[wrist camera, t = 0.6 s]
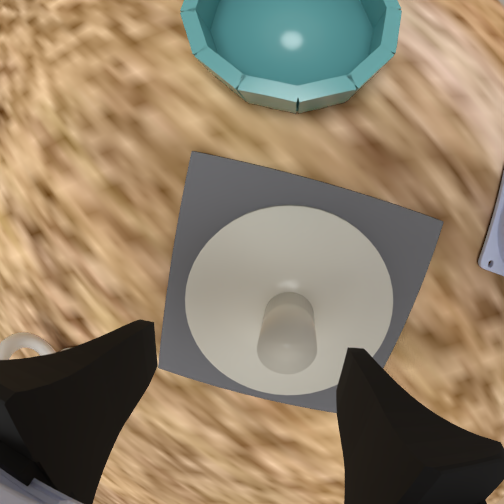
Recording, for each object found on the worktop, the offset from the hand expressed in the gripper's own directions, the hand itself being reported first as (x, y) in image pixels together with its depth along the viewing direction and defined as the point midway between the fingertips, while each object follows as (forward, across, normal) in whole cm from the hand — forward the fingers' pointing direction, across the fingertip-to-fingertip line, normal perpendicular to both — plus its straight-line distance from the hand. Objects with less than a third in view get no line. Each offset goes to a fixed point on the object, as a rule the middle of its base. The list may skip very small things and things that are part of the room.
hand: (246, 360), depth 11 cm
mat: (+9, -2, +2) cm, 10 cm away
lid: (+9, -2, +2) cm, 9 cm away
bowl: (+10, 0, -15) cm, 18 cm away
